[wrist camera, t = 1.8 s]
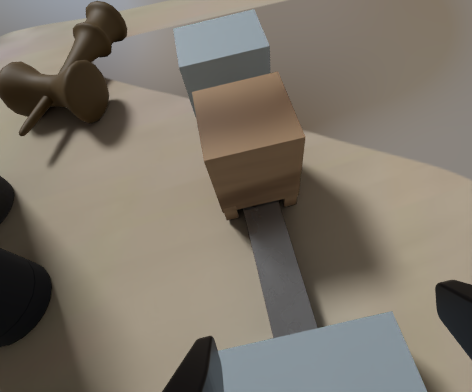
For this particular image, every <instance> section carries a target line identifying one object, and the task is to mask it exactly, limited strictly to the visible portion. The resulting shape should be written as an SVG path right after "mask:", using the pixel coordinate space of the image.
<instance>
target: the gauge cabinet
mask: <svg viewBox="0 0 472 392" xmlns="http://www.w3.org/2000/svg"><path fill="white" fill-rule="evenodd" d="M218 354H219V357H220V360H221V365H222V373H223V385H224V392H427V390H426V387H425V385H424V383H423V381H422V378H421V376H420V374H419V372H418V369H417V367H416V365H415V362H414V360H413V358H412V356H411V353H410V351H409V349H408V347H407V344H406V342H405V340H404V337H403V335H402V333H401V331H400V328H399V326H398V324H397V322H396V319H395V317H394V315H393V312H392V311H391V312H386V313H382V314H378V315H373V316H369V317H365V318H360V319H356V320H351V321H347V322H343V323H338V324H334V325H330V326H325V327H321V328H316V329H312V330H308V331H303V332H299V333H295V334H290V335H286V336H281V337H277V338H273V339H268V340H264V341H260V342H255V343H251V344H246V345H242V346H238V347H233V348H229V349H225V350H220V351H218Z"/></svg>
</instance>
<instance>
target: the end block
mask: <svg viewBox="0 0 472 392" xmlns="http://www.w3.org/2000/svg"><path fill="white" fill-rule="evenodd" d="M173 30H174V37H175V43H176V50H177V57H178V63H179V68H180V72H181V74H182V77H183V80H184V84H185V87H186V89H187V92H188V95H189V99H190V102H191V105H192V108H193V111H194V114H195V117H196V113H195V107H194V101H193V95H192V92H194V91H198V90H202V89H206V88H211V87H215V86H219V85H223V84H227V83H232V82H236V81H240V80H244V79H248V78H253V77H257V76H261V75H265V74H269V73H270V46H269V44H268V41H267V39H266V36H265V34H264V32H263V29H262V27H261V25H260V22H259V20H258V17H257V15H256V13H255V10H254V9H253V10H249V11H245V12H241V13H237V14H232V15H228V16H224V17H220V18H216V19H212V20H208V21H203V22H199V23H195V24H191V25H187V26H182V27H178V28H174V29H173Z"/></svg>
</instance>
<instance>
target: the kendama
mask: <svg viewBox="0 0 472 392" xmlns="http://www.w3.org/2000/svg"><path fill="white" fill-rule="evenodd" d="M86 18H87V20H86V21H85V22H83V23H79V24H76V26H75V27H74V28H73V36H74V38H75V41H74V44H73V47H72V49H71V51H70V53H69V55H68V57H67V59H66V61H65V63H64V65H63V67H62V68H61V70H60V72H59V73H58V75H45V74H41V73H39V72H38V71H37V70H36V69H34V68H33V67H31V66H29V65H27V64H25V63H23V62H11V63H9V64H8V65H6V66H5V67H3V68H2V70H1V71H0V98H1V99H2V100H3V102H4V103H5V104H6V106H7V107H8V108H10V109H11V110H12V111H14V112H15V113H17V114H20V115H23V116H27V117H28V116H29V117H28V118H27V119H26V121H25V122H24V124H23V125H22V127H21V129H20V131H19V135H20V136H24V135H26V134H27V133H28V132H29V131H30V130H31V129H32V128H33V127H34V126H35V124H36V123H37V122H38V121H39V119H40V118H41V117H42V116H43V115H44V113H45V112H46V111H47V110H48V108H49V107H51V106H59V107H67V108H68V109H69V110H70V111H71V112H72V113H73V114H74V115H75V116H76V117H77V118H78V119H80V120H82V121H84V122H87V123H93V122H96V121H98V120H99V119H100V118H101V117H102V115H103V114H104V113H105V110H106V108H107V106H108V100H109V92H108V88H107V83H106V81H105V79H104V77H103V75H102V73H101V72H100V71H99V69H98V68H97V67H96V66H95V65H94V64H92V63H91V62H92V61H94V60H95V59H96V58H98V57H106V56H108V55H109V54H110V53H111V47H112V46H111V45H112V43H113V42H118V41H122V40H123V39H124V38H125V37H126V36H127V27H126V24H125V21H124V19H123V18H122V16H121V14H120V13H119V12H118V11H117V10H116V9H115V8H114V7H113V6H111V5H109V4H107V3H105V2H100V1H95V2H92V3H90V4H89V5H88V6H87V7H86Z"/></svg>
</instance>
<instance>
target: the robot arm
mask: <svg viewBox="0 0 472 392" xmlns="http://www.w3.org/2000/svg"><path fill="white" fill-rule="evenodd" d="M435 291H436V306H437V313H438V315H439V318H440V319H441V321H442V322H443V323H444V325H445V326H446V327H447V329H448V330H449V331H450V333H451V334H452V335H453V336H454V338H455V339H456V340H457V342H458V343H459V344H460V345H461V347H462V348H463V349H464V351H465V352H466V353H467V355H468V356H469V357H470V358H471V360H472V285H471V284H467V283H463V282H460V281H456V280H449V281H444V282H440V283H438V284H437V285H436V287H435ZM162 392H224V385H223V373H222V365H221V360H220V357H219V354H218V350H217V347H216V343H215V340H214V338H213V337H212V336H207V337H203V338H199V339H197V340H196V341H195V343H194V344H193V346H192V347H191V349H190V351H189V352H188V354H187V355H186V357H185V358H184V360H183V361H182V363H181V364H180V366H179V367H178V369H177V370H176V372H175V373H174V375H173V376H172V378H171V379H170V381H169V382H168V384H167V385H166V387H165V388H164V390H163V391H162Z"/></svg>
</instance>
